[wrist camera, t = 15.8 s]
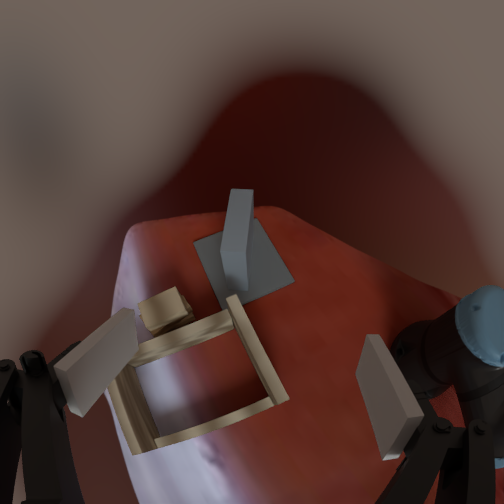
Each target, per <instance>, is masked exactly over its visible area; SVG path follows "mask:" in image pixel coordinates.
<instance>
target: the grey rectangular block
mask: <svg viewBox="0 0 504 504" xmlns="http://www.w3.org/2000/svg"><path fill="white" fill-rule="evenodd" d="M253 238H254V216H253V190H246V189H231V193H230V198H229V204H228V209H227V214H226V220H225V225H224V231H223V237H222V242H221V248H220V253H221V258H222V263H223V268H224V272H225V277H226V282H227V287H228V289H230V290H242V291H248V287H249V278H250V268H251V258H252V248H253Z"/></svg>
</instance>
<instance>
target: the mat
mask: <svg viewBox="0 0 504 504" xmlns="http://www.w3.org/2000/svg"><path fill="white" fill-rule="evenodd" d="M222 237H223V231H221V232H218V233H216V234H213V235H211V236H208V237H206V238H203V239H200V240H198V241H195V242H193V243H194V246H195V248H196V251H197V253H198V255H199V258H200V260H201V263H202V265H203V267H204V270H205V272H206V274H207V277H208V279H209V281H210V283H211V286H212V288H213V290H214V292H215V295H216V297H217V299H218V301H219V304H220V306H221V308H222V310H225V309H228V305H227V301H226V298H228V297H230V296H233V295H235V294H237V296H238V299H239V301H240V303H241V305H244V304H246V303H248V302H251V301H253V300H255V299H258V298H260V297H262V296H264V295H267V294H269V293H271V292H273V291H276V290H278V289H280V288H282V287H284V286H287V285H289V284H291V283H293V282H294V279H293V277H292V276H291V274H290V272H289V271H288V269H287V267H286V266H285V264H284V262H283V261H282V259H281V257H280V256H279V254H278V252H277V251H276V249H275V247H274V246H273V244H272V242H271V241H270V239H269V238H268V236H267V234H266V233H265V231H264V229H263V228H262V226H261V224H260V223H259V221H258V220H257V218H255V219H254V238H253V248H252V258H251V268H250V278H249V287H248V291H242V290H230V289H228V287H227V282H226V277H225V272H224V268H223V263H222V258H221V253H220V248H221V242H222ZM228 311H229V309H228Z"/></svg>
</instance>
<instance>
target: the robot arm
mask: <svg viewBox="0 0 504 504" xmlns="http://www.w3.org/2000/svg"><path fill="white" fill-rule="evenodd" d="M138 350H139V347H138V339H137V332H136V323H135V314H134V310H133V309H127V308H122V309H121V310H120V311H118V312H117V313H116V314H115V315H114V316H112V317H111V318H110V319H109V320H107V321H106V322H105V323H104V324H103V325H101V326H100V327H99V328H98V329H96V331H94V332H93V333H92V334H90V335H89V336H88V337H87V338H86V339H84V340H83V341H82V342H81V341H78V342H76V343H74V344H72V345H70V346H69V347H68V348H67V349H66V350H65V351H63V352H62V353H61V354H59V355H58V356H57V357H56V358H55V359H54V360H52V361H51V362H50V363H49V364H46V361H45V358H44V355H43V353H42V352H40V351H37V350H31V351H27V352H25V353H23V354H22V355H21V356H20V358H19V360H20V362H21V365H22V368H23V370H24V371H22V370H18V369H17V368H16V365H15V363H14V362H13V361H12V360H9V359H4V360H1V361H0V504H12V500H13V493H14V485H15V479H16V472H17V467H18V462H19V457H20V452H21V448H22V462H23V463H22V464H23V474H24V484H25V492H26V501H22V502H21V504H85V502H84V499H83V496H82V493H81V489H80V486H79V482H78V478H77V474H76V470H75V467H74V462H73V457H72V453H71V448H70V442H69V436H68V430H67V423H66V416H65V411H64V408H63V407H64V406H65V405H66V403H67V404H68V407H69V409H70V411H71V412H72V413H75V414H77V415H79V416H81V417H83V416H84V415H85V414H86V413H87V411H88V410H89V409H90V408H91V407H92V405H93V404H94V403H95V402H96V400H97V399H98V398H99V397H100V395H101V394H102V393H103V392H104V391H105V389H106V388H107V387H108V386H109V385H110V383H111V382H112V381H113V380H114V379H115V377H116V376H117V375H118V374H119V373H120V371H121V370H122V369H123V368H124V367H125V365H126V364H127V363H128V362H129V361H130V359H131V358H132V357H133V356H134V355H135V353H136V352H137V351H138ZM355 375H356V378H357V380H358V383H359V386H360V389H361V392H362V395H363V398H364V401H365V405H366V408H367V411H368V414H369V417H370V420H371V424H372V427H373V430H374V433H375V437H376V440H377V443H378V447H379V450H380V454H381V457H382V460H389V459H395V458H398V457H399V456H400V454H401V453H402V451H403V450H404V452H405V455H406V457H405V458H404V460H403V461H402V462H401V464H400V465H399V466H398V468H397V469H396V470H397V471H396V473H395V474H394V476H393V477H392V479H391V481H390V482H389V484H388V485H387V487H386V488H385V490H384V491H383V492H382V494H381V495H380V497H379V498H378V499H377V501H376V502H375V504H423V503H424V501H425V500H426V498H427V496H428V494H429V492H430V489H431V487H432V485H433V483H434V481H435V479H436V476H437V474H438V472H439V470H440V474H439V481H438V488H437V494H436V499H435V504H495V486H496V485H495V469H497V468H502V467H504V289H502V288H501V287H498V286H495V285H487V286H483V287H481V288H479V289H477V290H476V291H475V292H473V293H472V294H469V295H467V296H465V297H464V298H462V299H461V300H460V302H459V303H458V304H457V305H456V306H454V307H453V308H451V309H450V310H449V311H447V312H446V313H444V314H443V315H441V316H440V317H438V318H437V319H435V320H425V321H419V322H416V323H413V324H411V325H410V326H408V327H407V328H405V329H404V330H403V331H401V332H400V333H399V334H398V336H397V337H396V338H395V340H394V342H393V344H392V346H391V349H390V352H389V350H388V349H387V347H386V345H385V343H384V342H383V340H382V338H381V337H380V335H373V334H367V335H366V339H365V343H364V347H363V350H362V354H361V357H360V361H359V364H358V367H357V371H356V374H355ZM451 385H454V388H455V391H456V394H457V397H458V401H459V404H460V408H461V411H462V415H463V419H464V423H465V427H466V428H462V427H453V425H452V423H451V422H450V421H449V420H447V419H445V418H441V417H438V416H437V414H436V412H435V411H434V409H433V407H432V405H431V404H430V402H429V399H432V398H435V397H437V396H439V395H441V394H442V393H443V392H445V391H446V390H447V389H448V388H449V387H450V386H451ZM7 401H9V402H8V404H7Z"/></svg>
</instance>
